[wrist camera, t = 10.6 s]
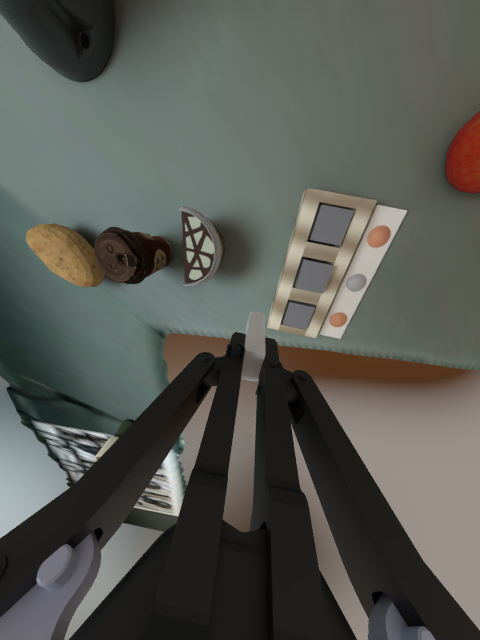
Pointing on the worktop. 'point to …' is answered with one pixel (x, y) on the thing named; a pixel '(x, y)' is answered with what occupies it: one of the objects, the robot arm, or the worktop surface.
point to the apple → (465, 157)
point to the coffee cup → (131, 254)
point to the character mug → (114, 438)
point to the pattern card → (362, 268)
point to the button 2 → (330, 224)
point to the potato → (66, 254)
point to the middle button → (313, 275)
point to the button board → (317, 257)
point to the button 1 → (297, 314)
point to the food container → (200, 247)
